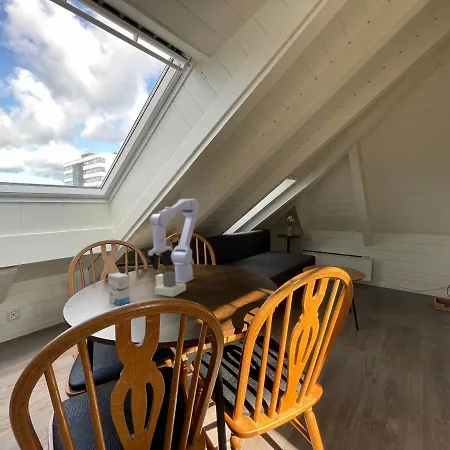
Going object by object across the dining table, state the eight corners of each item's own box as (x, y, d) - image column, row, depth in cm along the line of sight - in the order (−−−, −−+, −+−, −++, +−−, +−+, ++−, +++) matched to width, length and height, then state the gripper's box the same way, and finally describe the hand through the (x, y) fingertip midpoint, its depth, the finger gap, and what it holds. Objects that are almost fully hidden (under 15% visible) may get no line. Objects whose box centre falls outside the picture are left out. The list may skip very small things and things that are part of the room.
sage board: (168, 287, 137) (168, 281, 136) (185, 290, 132) (185, 283, 132) (154, 294, 128) (154, 287, 127) (173, 296, 123) (172, 290, 123)
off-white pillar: (161, 285, 141) (160, 273, 141) (167, 286, 139) (167, 274, 139) (156, 287, 138) (155, 275, 137) (162, 288, 136) (162, 276, 135)
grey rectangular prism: (168, 283, 133) (168, 271, 132) (175, 284, 131) (175, 272, 130) (163, 286, 129) (162, 273, 129) (170, 287, 127) (169, 274, 127)
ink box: (130, 302, 117) (128, 275, 116) (119, 306, 114) (117, 277, 113) (120, 298, 123) (118, 272, 122) (109, 301, 119) (107, 274, 118)
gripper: (162, 237, 141) (163, 263, 142) (142, 241, 128) (143, 270, 129) (174, 237, 138) (175, 264, 139) (154, 241, 125) (156, 271, 126)
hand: (161, 267), depth 134 cm, fingers open, 7 cm apart
